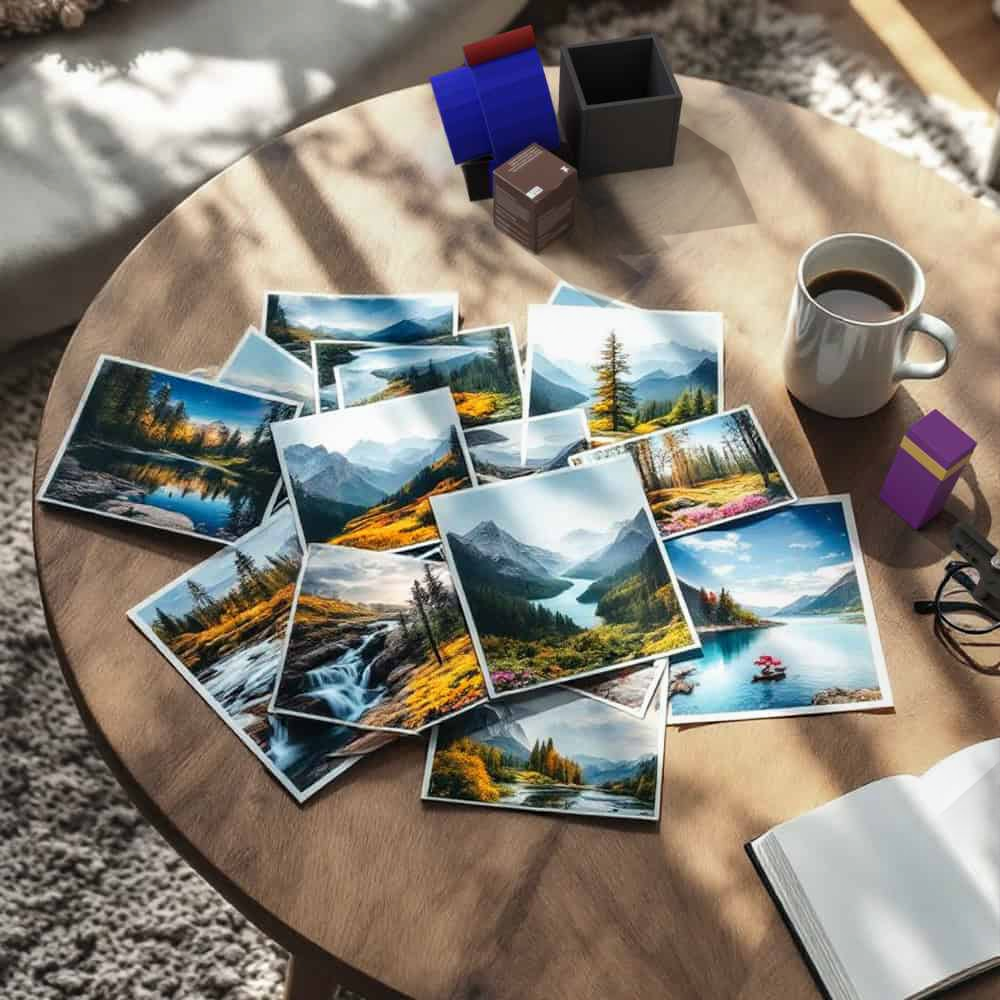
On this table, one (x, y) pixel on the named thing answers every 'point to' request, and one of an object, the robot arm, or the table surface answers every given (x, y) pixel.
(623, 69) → the bin
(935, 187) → the table surface
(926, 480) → the perfume bottle
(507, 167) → the box
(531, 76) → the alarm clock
